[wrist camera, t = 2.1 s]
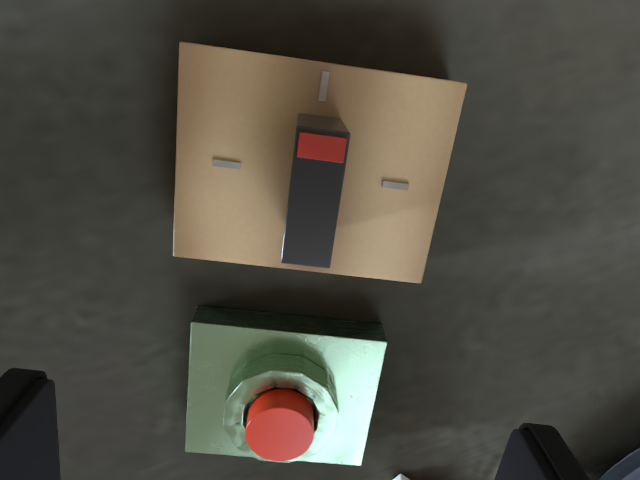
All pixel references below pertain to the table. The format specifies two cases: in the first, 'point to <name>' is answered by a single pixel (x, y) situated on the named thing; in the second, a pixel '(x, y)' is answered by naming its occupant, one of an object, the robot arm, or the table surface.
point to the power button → (280, 425)
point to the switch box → (282, 378)
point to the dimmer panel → (277, 153)
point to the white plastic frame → (401, 477)
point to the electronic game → (625, 468)
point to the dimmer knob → (315, 190)
